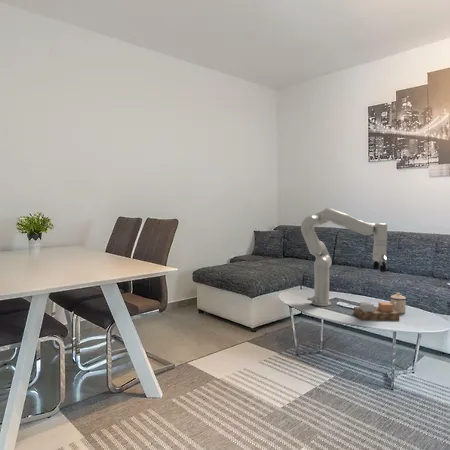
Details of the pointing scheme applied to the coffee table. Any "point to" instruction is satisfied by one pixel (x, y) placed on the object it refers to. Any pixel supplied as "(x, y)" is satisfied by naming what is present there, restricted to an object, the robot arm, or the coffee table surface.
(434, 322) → the coffee table surface
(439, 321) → the coffee table surface
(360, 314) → the brown slotted base
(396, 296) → the teacup with lid
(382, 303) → the salmon orange block
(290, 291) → the coffee table surface
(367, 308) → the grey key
